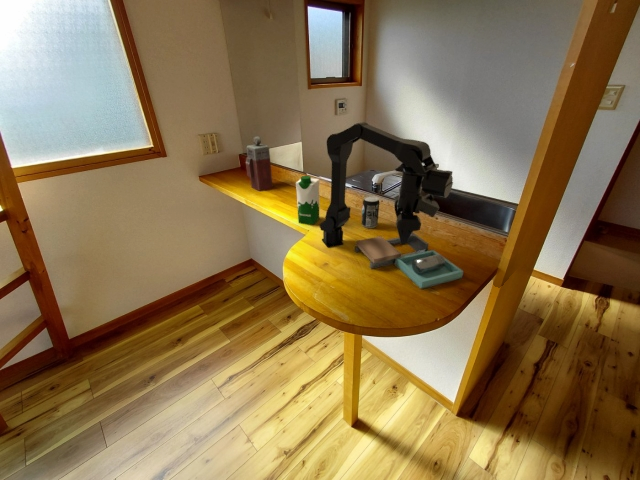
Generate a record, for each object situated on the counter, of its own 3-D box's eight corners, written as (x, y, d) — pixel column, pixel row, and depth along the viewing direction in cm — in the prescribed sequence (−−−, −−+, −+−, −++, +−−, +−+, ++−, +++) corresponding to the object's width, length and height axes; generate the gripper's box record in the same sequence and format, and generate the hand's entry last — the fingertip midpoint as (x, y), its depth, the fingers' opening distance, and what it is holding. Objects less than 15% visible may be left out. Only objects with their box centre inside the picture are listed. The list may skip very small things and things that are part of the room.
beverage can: (365, 221, 130) (366, 194, 124) (379, 224, 127) (382, 197, 121) (358, 226, 124) (360, 199, 119) (373, 230, 121) (376, 202, 116)
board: (373, 267, 96) (374, 259, 95) (355, 248, 107) (356, 241, 106) (400, 261, 99) (401, 253, 98) (380, 243, 110) (380, 236, 109)
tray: (421, 289, 88) (422, 282, 86) (394, 264, 99) (395, 258, 98) (461, 278, 92) (463, 271, 91) (432, 255, 104) (433, 249, 102)
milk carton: (295, 223, 128) (293, 178, 118) (303, 215, 136) (301, 171, 126) (315, 226, 125) (314, 179, 116) (321, 217, 133) (321, 173, 123)
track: (371, 269, 97) (372, 255, 95) (354, 251, 107) (355, 239, 105) (426, 256, 103) (428, 243, 101) (406, 240, 113) (407, 229, 111)
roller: (419, 276, 92) (422, 264, 90) (410, 268, 96) (413, 257, 94) (443, 270, 95) (446, 259, 93) (433, 263, 99) (436, 251, 96)
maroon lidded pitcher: (247, 188, 170) (240, 137, 156) (264, 184, 176) (259, 134, 163) (255, 192, 164) (249, 139, 150) (272, 188, 170) (268, 136, 157)
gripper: (446, 203, 75) (434, 255, 83) (434, 180, 91) (425, 225, 99) (401, 200, 77) (393, 251, 85) (397, 177, 93) (391, 222, 101)
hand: (402, 236), depth 92 cm, fingers open, 9 cm apart
